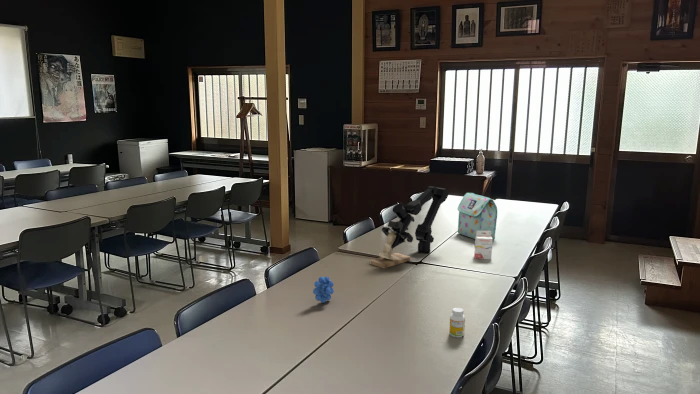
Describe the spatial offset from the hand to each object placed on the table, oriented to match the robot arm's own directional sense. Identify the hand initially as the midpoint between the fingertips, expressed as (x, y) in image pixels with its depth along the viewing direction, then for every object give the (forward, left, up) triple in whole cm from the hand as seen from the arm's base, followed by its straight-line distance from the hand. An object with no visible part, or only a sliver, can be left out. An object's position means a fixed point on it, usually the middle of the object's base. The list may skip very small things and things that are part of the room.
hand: (389, 247), depth 267 cm
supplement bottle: (-37, +77, -9) cm, 86 cm away
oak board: (-1, -1, -8) cm, 8 cm away
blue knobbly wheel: (+18, +60, -8) cm, 63 cm away
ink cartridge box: (-49, -20, -9) cm, 53 cm away
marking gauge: (+1, +2, -5) cm, 6 cm away
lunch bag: (-46, -64, -9) cm, 79 cm away
